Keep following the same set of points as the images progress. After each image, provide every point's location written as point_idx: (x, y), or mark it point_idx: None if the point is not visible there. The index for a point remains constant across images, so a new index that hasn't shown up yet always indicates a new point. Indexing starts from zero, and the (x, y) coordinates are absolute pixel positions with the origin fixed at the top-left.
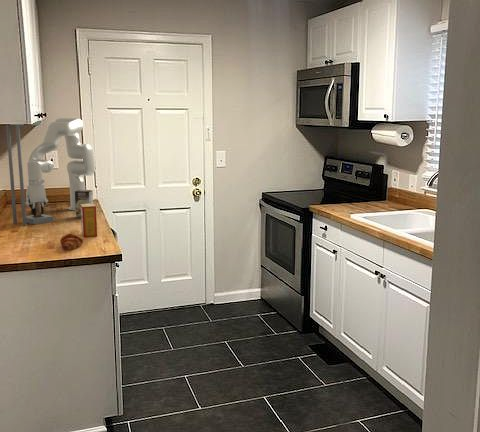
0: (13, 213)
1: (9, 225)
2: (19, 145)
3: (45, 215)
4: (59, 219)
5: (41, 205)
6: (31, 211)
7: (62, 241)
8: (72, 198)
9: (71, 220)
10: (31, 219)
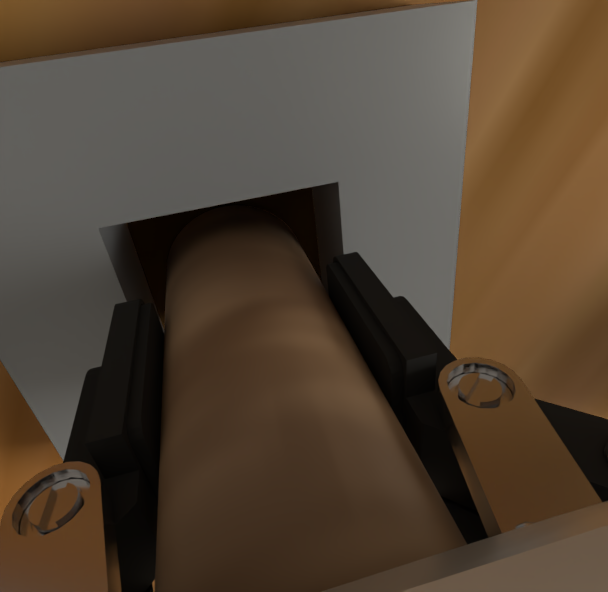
0: None
1: None
2: None
3: (407, 285)
4: (539, 274)
5: (454, 485)
6: (82, 408)
7: None
8: None
9: (560, 401)
10: (60, 440)
